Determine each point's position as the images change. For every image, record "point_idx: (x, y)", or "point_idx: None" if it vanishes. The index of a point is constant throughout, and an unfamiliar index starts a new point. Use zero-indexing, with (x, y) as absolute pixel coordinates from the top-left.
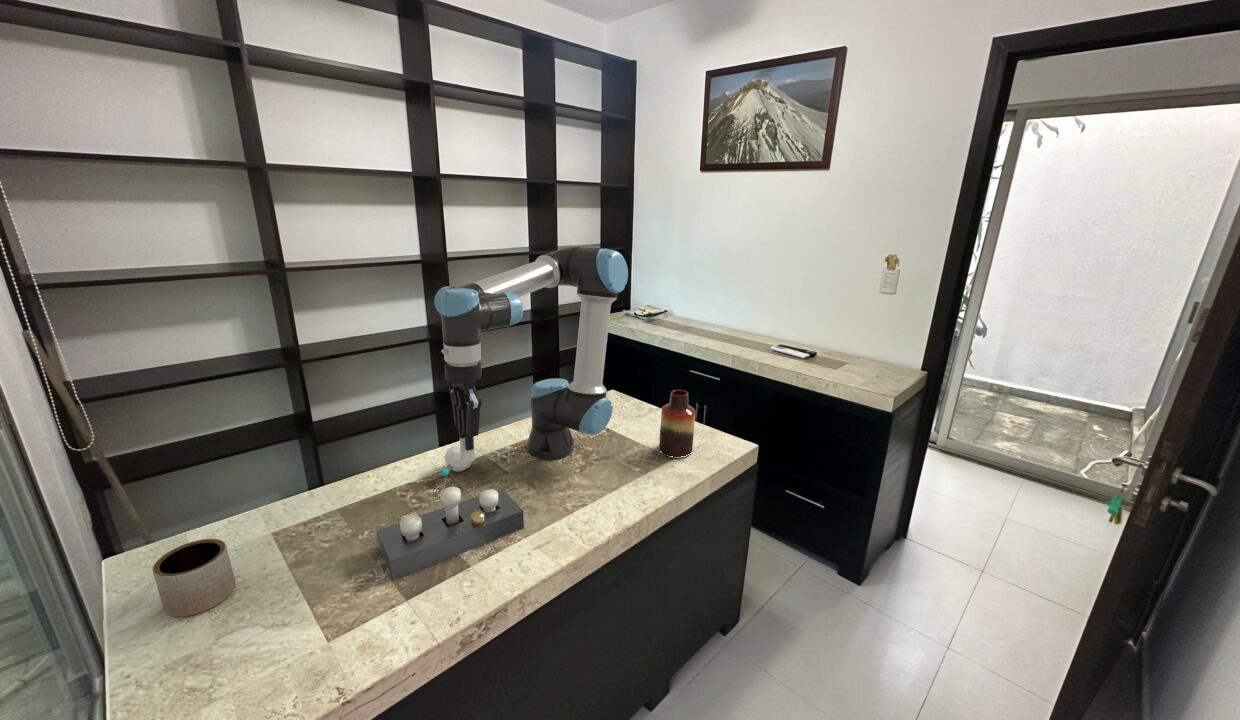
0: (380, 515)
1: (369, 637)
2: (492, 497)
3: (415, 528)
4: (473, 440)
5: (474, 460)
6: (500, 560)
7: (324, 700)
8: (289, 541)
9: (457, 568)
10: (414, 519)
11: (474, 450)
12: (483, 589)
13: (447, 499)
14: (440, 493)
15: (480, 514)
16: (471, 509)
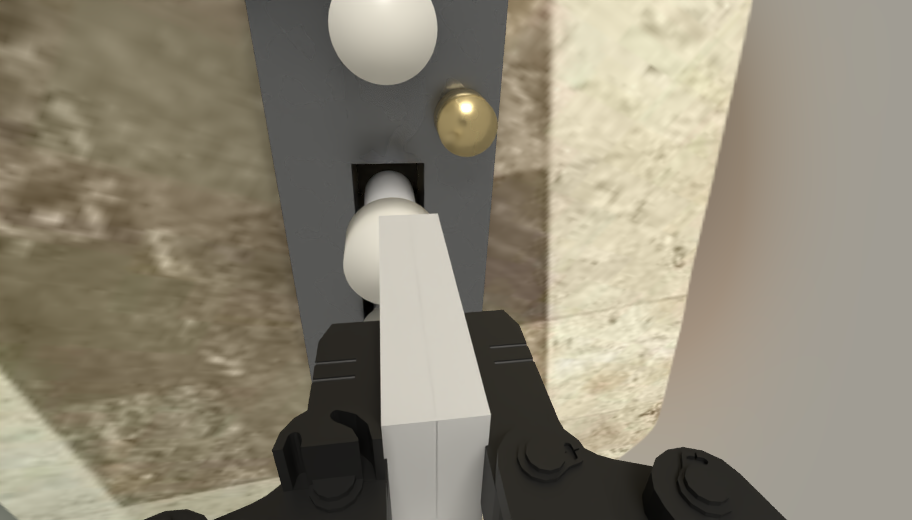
0: (128, 322)
1: (585, 379)
2: (426, 24)
3: None
4: (471, 349)
5: (437, 217)
6: (591, 79)
7: (646, 426)
8: (179, 480)
9: (529, 202)
10: None
11: (449, 263)
12: (651, 172)
13: None
14: (379, 303)
15: (476, 117)
16: (356, 106)
